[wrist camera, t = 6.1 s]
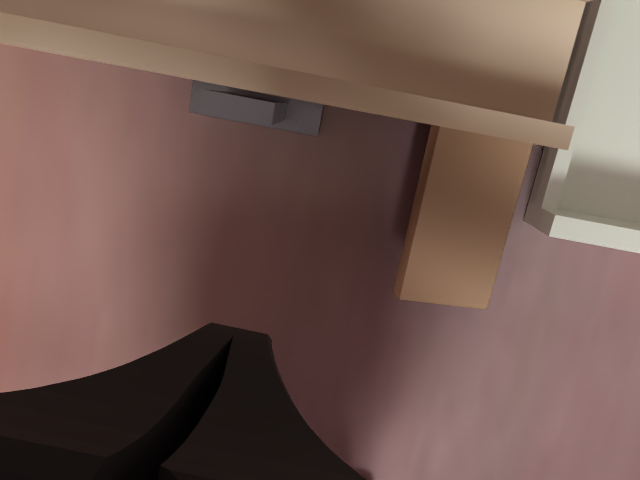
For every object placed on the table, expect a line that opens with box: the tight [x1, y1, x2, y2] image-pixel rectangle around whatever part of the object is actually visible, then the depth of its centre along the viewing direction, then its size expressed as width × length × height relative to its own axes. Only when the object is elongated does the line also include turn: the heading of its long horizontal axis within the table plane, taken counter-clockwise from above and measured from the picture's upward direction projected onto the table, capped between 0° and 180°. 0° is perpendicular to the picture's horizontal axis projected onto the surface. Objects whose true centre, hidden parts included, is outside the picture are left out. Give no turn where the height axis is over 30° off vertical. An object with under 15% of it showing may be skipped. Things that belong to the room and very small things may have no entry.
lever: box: [0, 0, 593, 309], centre depth 15 cm, size 11×20×2 cm, turn 80°
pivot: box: [189, 80, 324, 136], centre depth 16 cm, size 7×4×4 cm, turn 170°
